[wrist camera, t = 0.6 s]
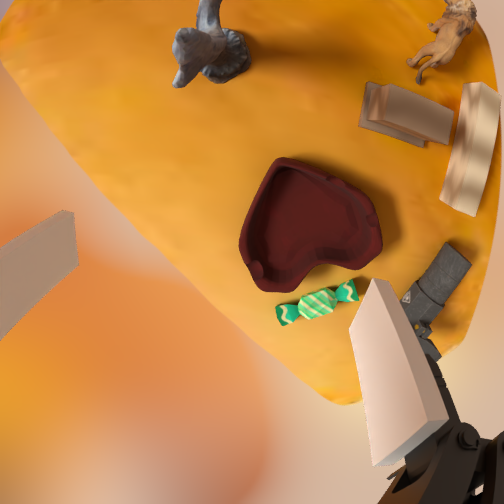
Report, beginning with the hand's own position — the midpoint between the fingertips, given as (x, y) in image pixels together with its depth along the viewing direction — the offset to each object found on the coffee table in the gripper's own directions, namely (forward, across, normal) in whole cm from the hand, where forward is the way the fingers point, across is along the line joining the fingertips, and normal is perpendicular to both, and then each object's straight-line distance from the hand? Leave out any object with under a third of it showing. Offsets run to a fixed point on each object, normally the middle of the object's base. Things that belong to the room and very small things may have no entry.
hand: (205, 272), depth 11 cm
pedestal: (+26, +15, +11) cm, 32 cm away
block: (+26, +27, +12) cm, 40 cm away
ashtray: (+27, +6, -5) cm, 28 cm away
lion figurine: (+26, +18, +24) cm, 41 cm away
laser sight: (+27, +28, -14) cm, 41 cm away
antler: (+26, -6, +13) cm, 30 cm away
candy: (+27, +12, -17) cm, 34 cm away
